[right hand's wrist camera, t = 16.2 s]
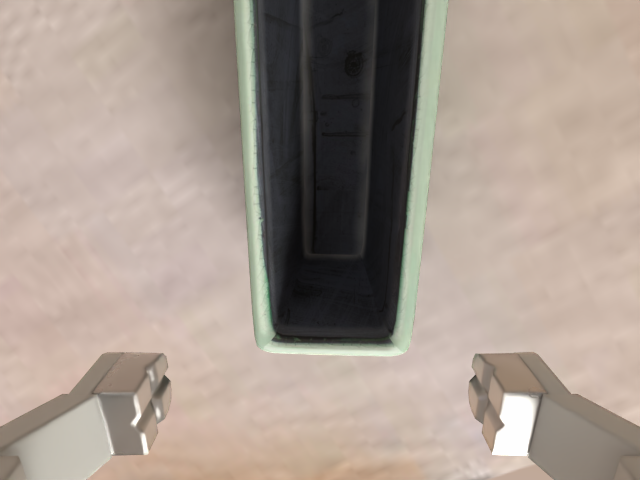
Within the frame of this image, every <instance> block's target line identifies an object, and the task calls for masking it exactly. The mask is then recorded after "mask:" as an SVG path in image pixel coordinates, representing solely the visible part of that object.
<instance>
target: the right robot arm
mask: <svg viewBox="0 0 640 480" xmlns="http://www.w3.org/2000/svg"><path fill="white" fill-rule="evenodd" d="M167 368H168V363H167V358H166V356H165V355H164V354H163V353H127V352H126V353H123V352H107V353H105V354H102V355H101V356H100V358H99V359H98V360H97V361H96V362H95V363H94V365H93V366H92V367H91V368H90V369H89V371H88V372H87V373H86V374H85V375H84V377H83V378H82V379H81V380H80V381H79V382H78V384H77V385H76V386H75V387H74V388H73V390H72V391H71V392H70V393H69V394H62V395H60V396H58V397H56V398H54V399H52V400H50V401H48V402H47V403H45V404H43V405H41V406H39V407H37V408H35V409H33V410H31V411H29V412H28V413H26V414H24V415H22V416H20V417H18V418H16V419H14V420H12V421H10V422H9V423H7V424H5V425H3V426H1V427H0V480H86V479H88V478H89V477H90V476H91V475H92V474H93V473H95V472H96V471H97V470H98V469H99V468H100V467H101V466H103V465H104V464H105V463H106V462H107V461H108V460H110V459H111V458H112V456H116V455H147V454H148V452H149V450H150V448H151V446H152V444H153V442H154V440H155V438H156V436H157V434H158V429H157V424H158V423H159V422H161V421H162V420H163V419H165V417H166V415H167V413H168V410H169V407H170V402H171V390H172V389H171V382H170V380H169V379H168V378H167V377H166V376H165V375H164V374H165V372H166V370H167ZM472 368H473V370H474V372H475V374H476V375H475V376H474V377H473V378H472V379H471V380H470V382H469V390H468V394H469V403H470V407H471V410H472V413H473V415H474V417H475V419H477V420H478V421H479V422H481V423H482V424H483V429H482V434H483V436H484V438H485V440H486V442H487V444H488V446H489V448H490V450H491V452H492V454H493V455H524V456H528V458H530V459H531V460H532V461H533V462H534V463H535V464H536V465H538V466H539V467H540V468H541V469H542V470H543V471H544V472H546V473H547V474H548V475H549V476H550V477H551V478H553V479H554V480H640V427H639V426H637V425H635V424H633V423H631V422H629V421H627V420H626V419H624V418H622V417H620V416H618V415H616V414H614V413H612V412H610V411H609V410H607V409H605V408H603V407H601V406H599V405H597V404H595V403H593V402H591V401H590V400H588V399H586V398H584V397H582V396H580V395H578V394H571V393H570V392H569V391H568V390H567V388H566V387H565V386H564V385H563V384H562V382H561V381H560V380H559V379H558V378H557V377H556V375H555V374H554V373H553V372H552V371H551V369H550V368H549V367H548V366H547V365H546V364H545V362H544V361H543V360H542V359H541V358H540V356H539V355H538V354H536V353H534V352H523V353H496V354H475V356H474V358H473V363H472Z"/></svg>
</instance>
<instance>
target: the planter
mask: <svg viewBox="0 0 640 480" xmlns="http://www.w3.org/2000/svg"><path fill="white" fill-rule="evenodd" d="M233 3H234V21H235V37H236V54H237V71H238V88H239V105H240V122H241V139H242V156H243V172H244V188H245V205H246V221H247V237H248V254H249V269H250V284H251V299H252V314H253V324H254V334H255V339H256V343H257V346H258V347H259V348H260V349H262V350H264V351H267V352H272V353H287V354H315V355H350V356H396V355H400V354H403V353H405V352H406V351H407V350H408V348H409V345H410V342H411V336H412V330H413V323H414V316H415V307H416V299H417V290H418V281H419V272H420V263H421V254H422V245H423V235H424V226H425V217H426V208H427V198H428V189H429V180H430V171H431V161H432V152H433V142H434V133H435V123H436V114H437V105H438V95H439V86H440V76H441V67H442V57H443V48H444V38H445V29H446V20H447V10H448V0H233Z"/></svg>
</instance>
